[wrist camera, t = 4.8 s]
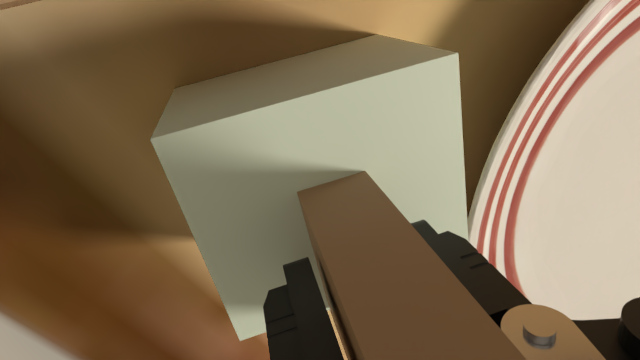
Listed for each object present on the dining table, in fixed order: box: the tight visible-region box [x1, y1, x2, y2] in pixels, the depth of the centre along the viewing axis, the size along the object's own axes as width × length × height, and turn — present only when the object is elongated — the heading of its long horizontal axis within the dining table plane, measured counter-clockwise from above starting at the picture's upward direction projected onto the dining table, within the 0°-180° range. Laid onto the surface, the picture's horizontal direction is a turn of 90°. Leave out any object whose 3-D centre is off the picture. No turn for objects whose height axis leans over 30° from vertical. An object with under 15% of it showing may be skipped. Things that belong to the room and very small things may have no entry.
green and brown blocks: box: [150, 34, 527, 360], centre depth 11 cm, size 7×8×13 cm
